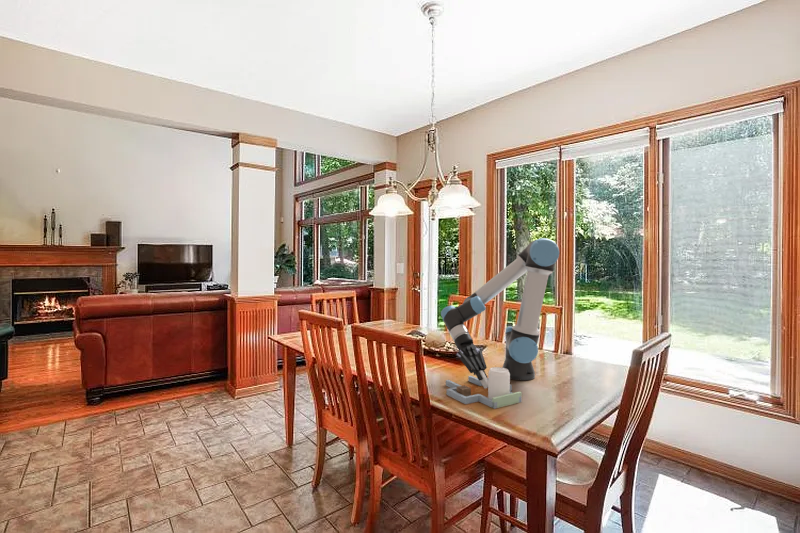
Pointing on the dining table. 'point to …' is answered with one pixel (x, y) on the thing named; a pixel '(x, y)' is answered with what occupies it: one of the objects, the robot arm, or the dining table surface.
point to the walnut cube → (464, 390)
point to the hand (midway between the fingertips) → (487, 386)
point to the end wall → (507, 399)
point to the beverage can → (498, 382)
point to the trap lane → (473, 398)
